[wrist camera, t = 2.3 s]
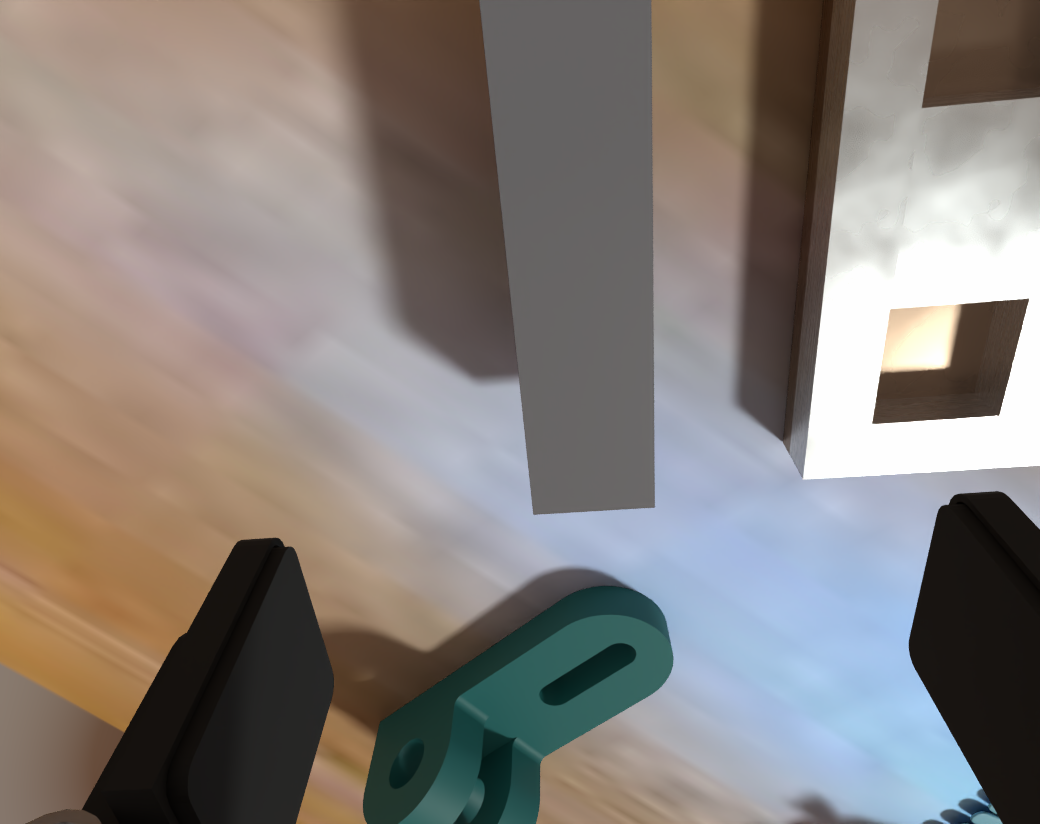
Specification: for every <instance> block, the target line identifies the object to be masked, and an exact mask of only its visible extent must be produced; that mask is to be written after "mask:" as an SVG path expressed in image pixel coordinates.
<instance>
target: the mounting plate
mask: <svg viewBox="0 0 1040 824" xmlns="http://www.w3.org/2000/svg"><path fill="white" fill-rule="evenodd" d="M783 443H784V445H785V447H786V449H787V451H788V453H789V455H790V456H791V458H792V460H793V462H794V464H795V466H796V468H797V469H798V471H799V473H800V475H801V477H802V479H803V480H804V479H820V478H836V477H852V476H869V475H885V474H901V473H917V472H934V471H950V470H966V469H982V468H999V467H1015V466H1031V465H1040V0H824V1H823V12H822V23H821V34H820V44H819V55H818V66H817V77H816V88H815V99H814V110H813V121H812V132H811V142H810V153H809V164H808V175H807V186H806V197H805V208H804V219H803V229H802V240H801V251H800V262H799V273H798V284H797V295H796V306H795V317H794V327H793V338H792V349H791V360H790V371H789V382H788V393H787V404H786V414H785V425H784V436H783Z"/></svg>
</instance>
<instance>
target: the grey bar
mask: <svg viewBox="0 0 1040 824" xmlns="http://www.w3.org/2000/svg"><path fill="white" fill-rule="evenodd" d="M479 2H480V11H481V21H482V30H483V40H484V49H485V59H486V68H487V78H488V87H489V97H490V106H491V116H492V125H493V135H494V144H495V154H496V164H497V173H498V183H499V192H500V202H501V211H502V221H503V230H504V240H505V249H506V259H507V268H508V278H509V287H510V297H511V306H512V316H513V325H514V335H515V344H516V354H517V363H518V373H519V382H520V392H521V401H522V411H523V420H524V430H525V439H526V449H527V458H528V468H529V478H530V487H531V497H532V506H533V515H537V514H554V513H570V512H587V511H604V510H620V509H637V508H654V507H655V483H654V334H653V185H652V36H651V0H479Z"/></svg>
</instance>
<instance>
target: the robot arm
mask: <svg viewBox="0 0 1040 824" xmlns="http://www.w3.org/2000/svg"><path fill="white" fill-rule="evenodd" d="M909 652H910V657H911V660H912V663H913V666H914V668H915V670H916V671H917V673H918V675H919V677H920V678H921V680H922V682H923V684H924V686H925V687H926V689H927V691H928V693H929V694H930V696H931V698H932V700H933V701H934V703H935V705H936V707H937V709H938V710H939V712H940V714H941V716H942V717H943V719H944V721H945V723H946V724H947V726H948V728H949V730H950V732H951V733H952V735H953V737H954V739H955V740H956V742H957V744H958V746H959V747H960V749H961V751H962V753H963V755H964V756H965V758H966V760H967V762H968V763H969V765H970V767H971V769H972V770H973V772H974V774H975V776H976V778H977V779H978V781H979V783H980V785H981V786H982V788H983V790H984V792H985V793H986V795H987V797H988V799H989V801H990V802H991V804H992V806H993V808H994V809H995V811H996V813H997V815H998V816H999V818H1000V820H1001V822H1002V824H1040V529H1039V528H1038V527H1037V526H1036V525H1035V524H1034V523H1033V522H1032V521H1031V520H1030V519H1029V518H1028V517H1027V516H1026V515H1025V513H1024V512H1023V511H1022V510H1021V509H1020V508H1019V507H1018V506H1017V505H1016V504H1015V503H1014V502H1013V501H1012V500H1011V499H1010V498H1009V497H1008V496H1007V495H1006V494H1004V493H1002V492H998V491H995V492H980V493H964V494H957V495H954V496H953V497H952V499H951V500H950V503H949V505H944V506H941V507H940V509H939V511H938V513H937V517H936V522H935V526H934V531H933V535H932V540H931V544H930V549H929V553H928V558H927V562H926V566H925V571H924V575H923V580H922V584H921V589H920V593H919V598H918V602H917V607H916V611H915V616H914V620H913V625H912V629H911V634H910V638H909ZM333 688H334V677H333V671H332V667H331V664H330V661H329V657H328V654H327V651H326V648H325V644H324V641H323V638H322V635H321V632H320V628H319V625H318V622H317V619H316V615H315V612H314V609H313V606H312V602H311V599H310V596H309V593H308V589H307V586H306V583H305V580H304V576H303V573H302V570H301V567H300V563H299V560H298V557H297V554H296V551H295V550H294V548H293V547H284V544H283V542H282V541H281V540H280V539H279V538H265V539H249V540H240V541H238V542H237V543H236V545H235V546H234V547H233V549H232V551H231V553H230V555H229V557H228V558H227V560H226V562H225V564H224V566H223V568H222V569H221V571H220V573H219V575H218V577H217V579H216V580H215V582H214V584H213V586H212V588H211V590H210V591H209V593H208V595H207V597H206V599H205V601H204V602H203V604H202V606H201V608H200V610H199V612H198V613H197V615H196V617H195V619H194V621H193V623H192V624H191V626H190V628H189V630H188V632H187V633H185V634H184V635H182V636H181V637H179V638H178V640H177V641H176V642H175V644H174V645H173V647H172V648H171V650H170V652H169V654H168V655H167V657H166V659H165V661H164V663H163V664H162V666H161V668H160V670H159V672H158V673H157V675H156V677H155V679H154V681H153V682H152V684H151V686H150V688H149V690H148V691H147V693H146V695H145V697H144V699H143V700H142V702H141V704H140V706H139V708H138V709H137V711H136V713H135V715H134V717H133V718H132V720H131V722H130V724H129V726H128V727H127V729H126V731H125V733H124V735H123V736H122V738H121V740H120V742H119V744H118V745H117V747H116V749H115V751H114V753H113V755H112V756H111V758H110V760H109V762H108V764H107V765H106V767H105V769H104V771H103V772H102V774H101V776H100V778H99V780H98V781H97V783H96V785H95V787H94V789H93V790H92V792H91V794H90V796H89V798H88V800H87V801H86V803H85V805H84V807H83V809H82V810H70V809H66V810H61V811H57V812H53V813H49V814H46V815H43V816H41V817H39V818H37V819H35V820H32V821H30V822H28V823H26V824H296V821H297V817H298V814H299V810H300V807H301V803H302V800H303V796H304V793H305V789H306V786H307V782H308V779H309V775H310V772H311V769H312V765H313V762H314V758H315V755H316V751H317V748H318V744H319V741H320V737H321V734H322V730H323V727H324V723H325V720H326V717H327V713H328V710H329V706H330V703H331V699H332V695H333Z"/></svg>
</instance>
